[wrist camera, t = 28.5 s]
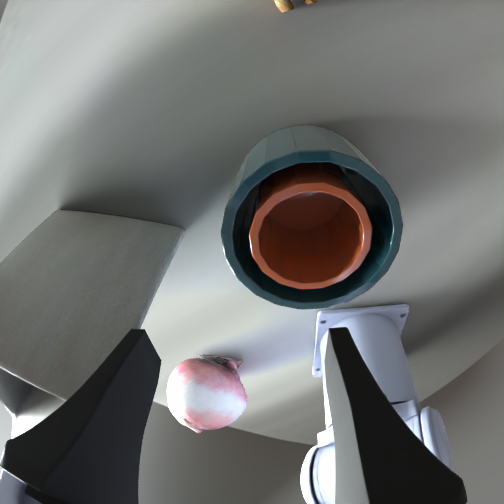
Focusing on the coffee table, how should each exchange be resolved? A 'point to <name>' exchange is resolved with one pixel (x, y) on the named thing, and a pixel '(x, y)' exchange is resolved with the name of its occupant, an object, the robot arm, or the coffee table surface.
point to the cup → (309, 226)
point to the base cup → (364, 183)
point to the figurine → (289, 4)
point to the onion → (206, 393)
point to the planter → (73, 303)
